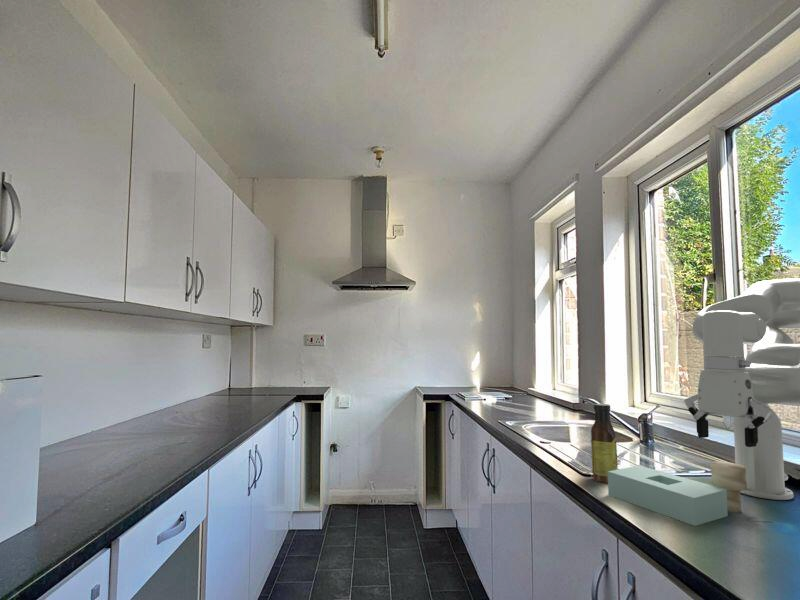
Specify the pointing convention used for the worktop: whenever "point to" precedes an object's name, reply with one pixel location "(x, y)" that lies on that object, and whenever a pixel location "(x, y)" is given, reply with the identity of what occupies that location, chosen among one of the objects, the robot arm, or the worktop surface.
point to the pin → (730, 482)
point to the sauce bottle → (603, 444)
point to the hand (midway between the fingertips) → (726, 441)
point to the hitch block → (668, 494)
